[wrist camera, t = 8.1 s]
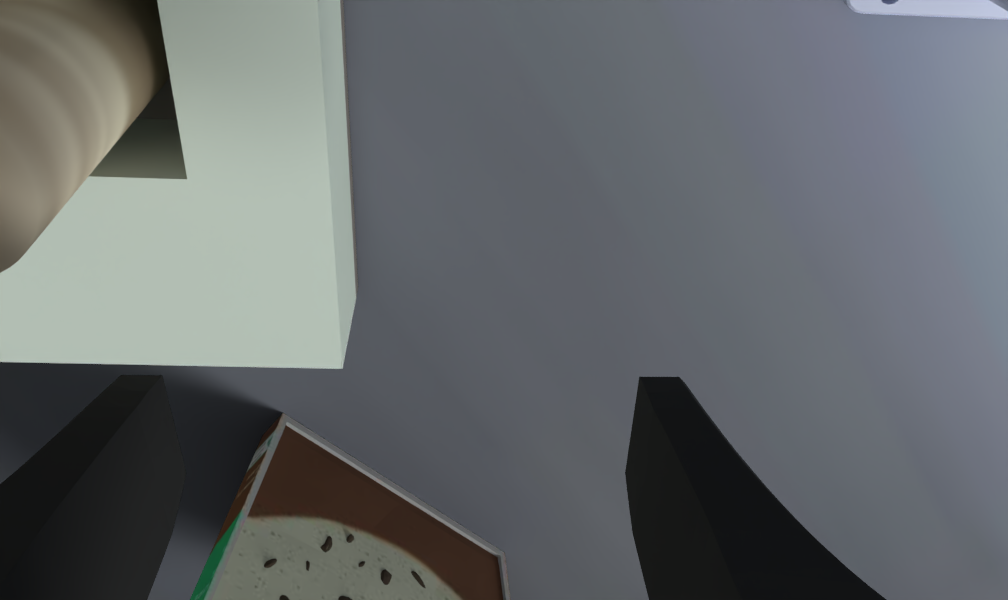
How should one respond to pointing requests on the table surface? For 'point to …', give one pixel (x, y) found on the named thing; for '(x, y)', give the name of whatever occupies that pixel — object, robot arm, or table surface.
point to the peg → (67, 100)
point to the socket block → (209, 208)
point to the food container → (340, 534)
